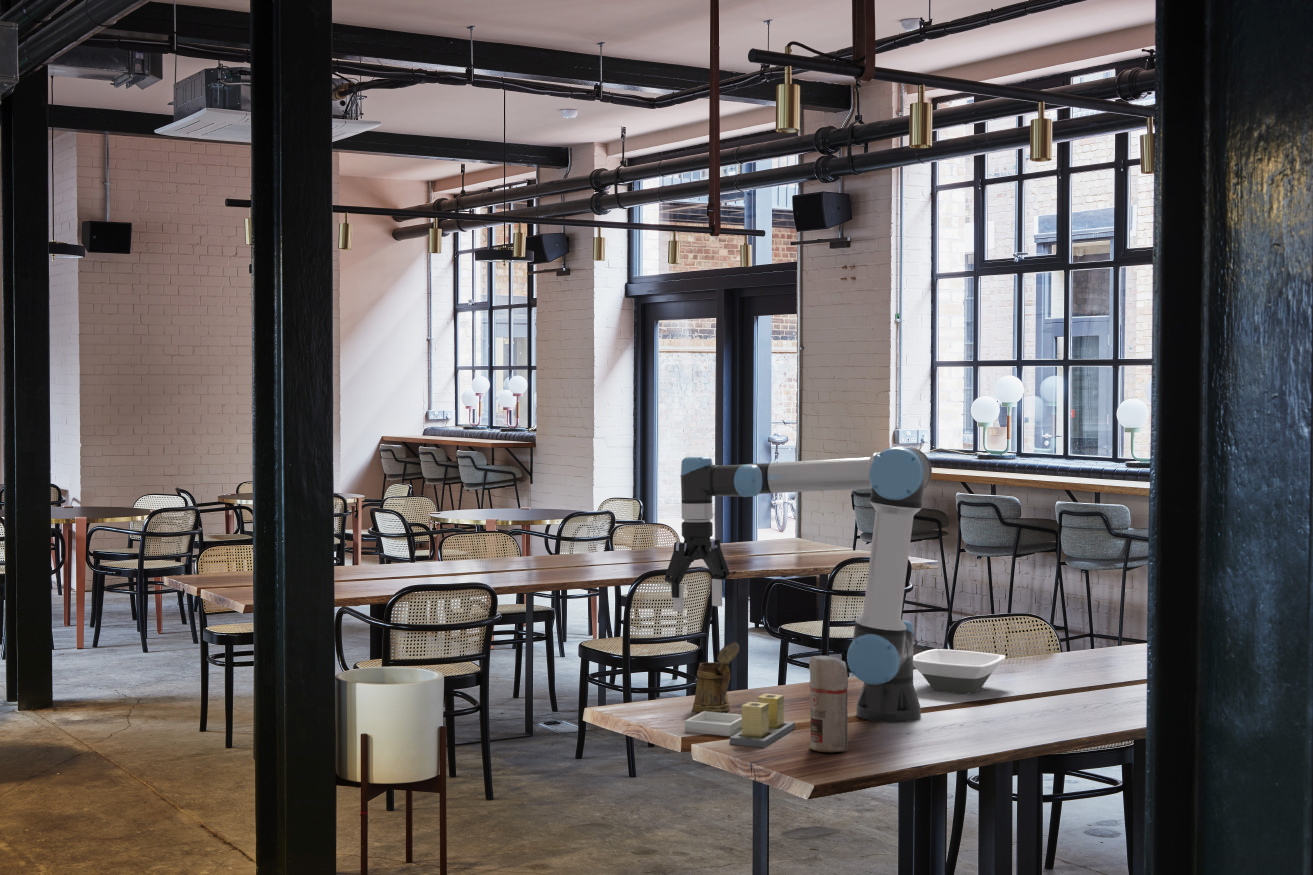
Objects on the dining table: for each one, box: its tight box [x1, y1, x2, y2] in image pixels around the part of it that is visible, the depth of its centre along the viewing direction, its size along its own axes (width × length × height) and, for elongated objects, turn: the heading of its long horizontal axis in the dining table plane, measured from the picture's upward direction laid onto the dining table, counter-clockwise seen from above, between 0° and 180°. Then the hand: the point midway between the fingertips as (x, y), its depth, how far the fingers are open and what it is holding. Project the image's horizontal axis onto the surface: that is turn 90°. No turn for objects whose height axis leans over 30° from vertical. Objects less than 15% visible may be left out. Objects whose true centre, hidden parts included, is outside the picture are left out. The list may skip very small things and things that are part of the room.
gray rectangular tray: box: [729, 720, 796, 749], centre depth 284 cm, size 8×20×2 cm, turn 155°
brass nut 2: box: [757, 693, 785, 729], centre depth 289 cm, size 5×5×8 cm
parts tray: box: [684, 711, 742, 737], centre depth 291 cm, size 11×11×2 cm
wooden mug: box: [691, 641, 740, 714], centre depth 310 cm, size 9×14×18 cm, turn 36°
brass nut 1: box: [741, 701, 769, 739], centre depth 280 cm, size 5×5×8 cm
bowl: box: [913, 648, 1006, 694], centre depth 338 cm, size 22×23×8 cm
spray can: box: [808, 655, 849, 753], centre depth 272 cm, size 8×8×20 cm
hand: (698, 608), depth 308 cm, fingers open, 13 cm apart
